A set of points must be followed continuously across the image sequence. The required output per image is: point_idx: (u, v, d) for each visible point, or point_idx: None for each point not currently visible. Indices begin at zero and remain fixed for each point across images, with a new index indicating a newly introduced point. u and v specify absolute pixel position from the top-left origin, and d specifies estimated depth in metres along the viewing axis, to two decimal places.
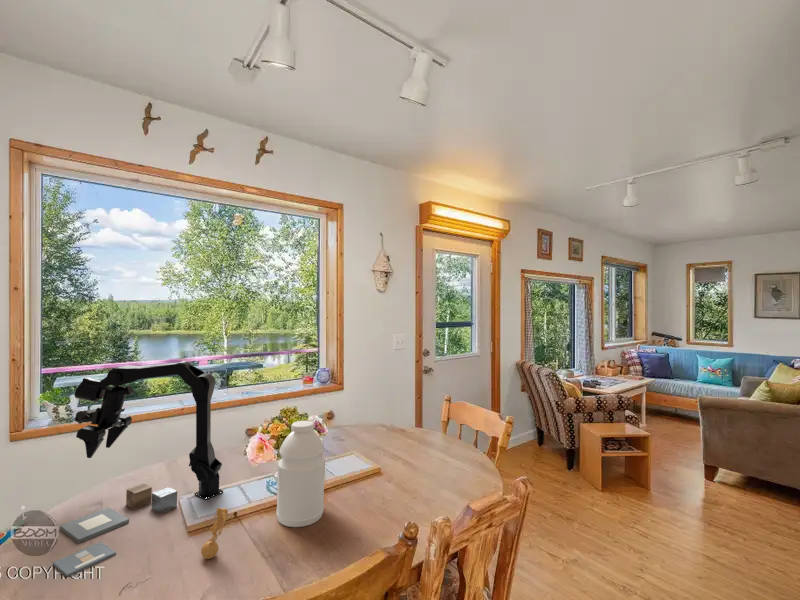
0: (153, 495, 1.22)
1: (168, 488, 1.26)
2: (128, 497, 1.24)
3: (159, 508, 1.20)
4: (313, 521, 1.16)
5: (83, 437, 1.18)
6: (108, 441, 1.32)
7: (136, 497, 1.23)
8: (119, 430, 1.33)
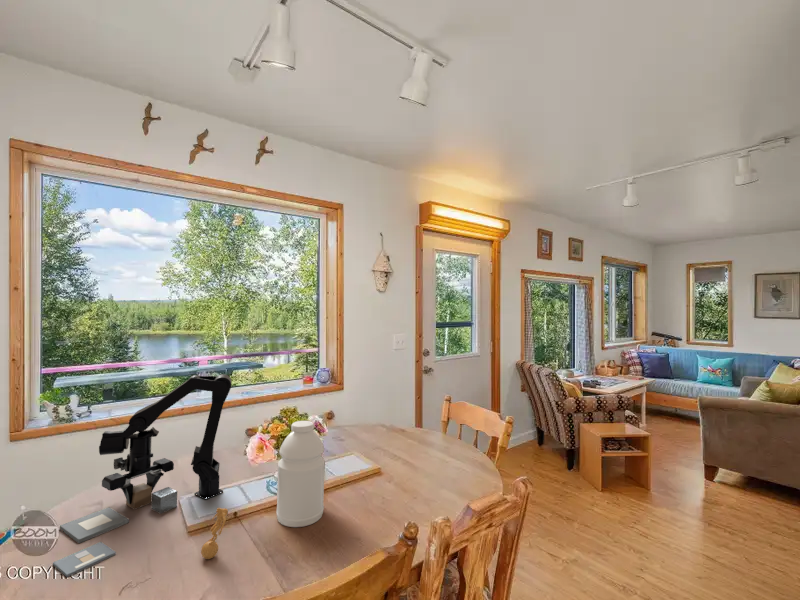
0: (153, 495, 1.22)
1: (168, 488, 1.26)
2: None
3: (159, 508, 1.20)
4: (313, 521, 1.16)
5: (104, 486, 1.18)
6: None
7: (136, 497, 1.23)
8: (153, 479, 1.27)
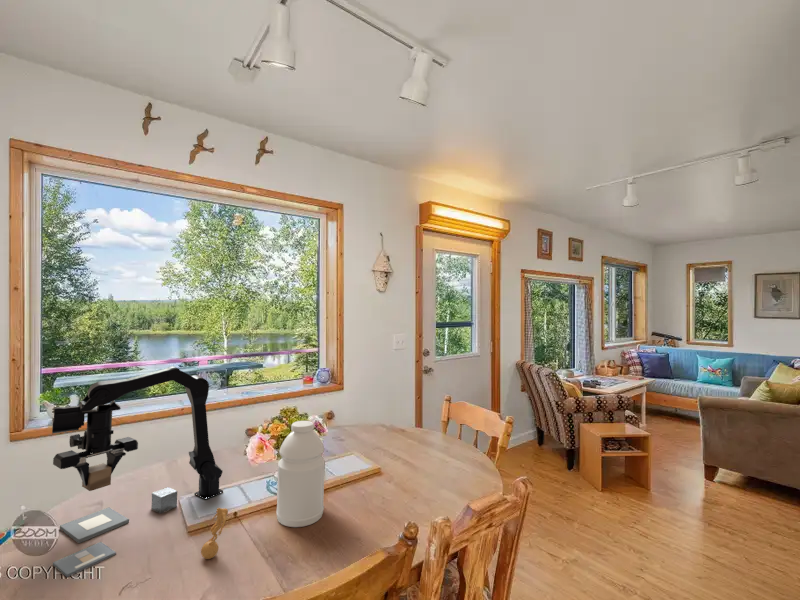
0: (153, 495, 1.22)
1: (168, 488, 1.26)
2: None
3: (159, 508, 1.20)
4: (313, 521, 1.16)
5: (55, 464, 1.06)
6: None
7: (93, 477, 1.10)
8: (113, 458, 1.15)
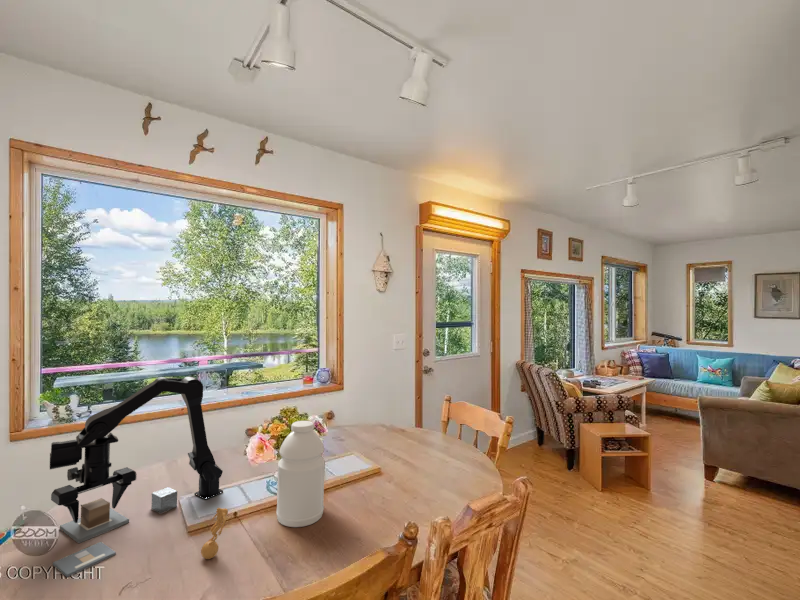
0: (153, 495, 1.22)
1: (168, 488, 1.26)
2: (83, 514, 1.11)
3: (159, 508, 1.20)
4: (313, 521, 1.16)
5: (54, 500, 1.05)
6: (113, 501, 1.17)
7: (91, 514, 1.10)
8: (119, 488, 1.16)
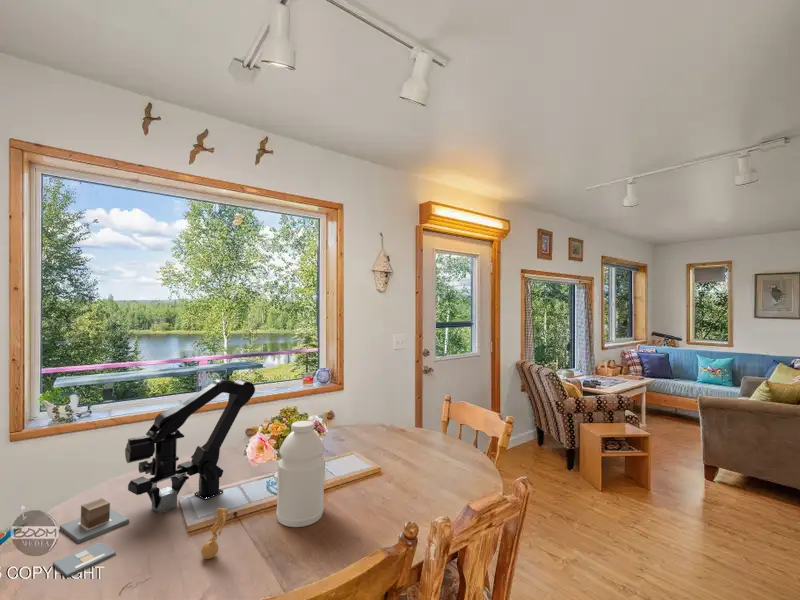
0: None
1: (168, 487, 1.26)
2: (83, 514, 1.11)
3: (159, 508, 1.20)
4: (313, 521, 1.16)
5: (131, 490, 1.16)
6: None
7: (91, 514, 1.10)
8: (178, 482, 1.25)
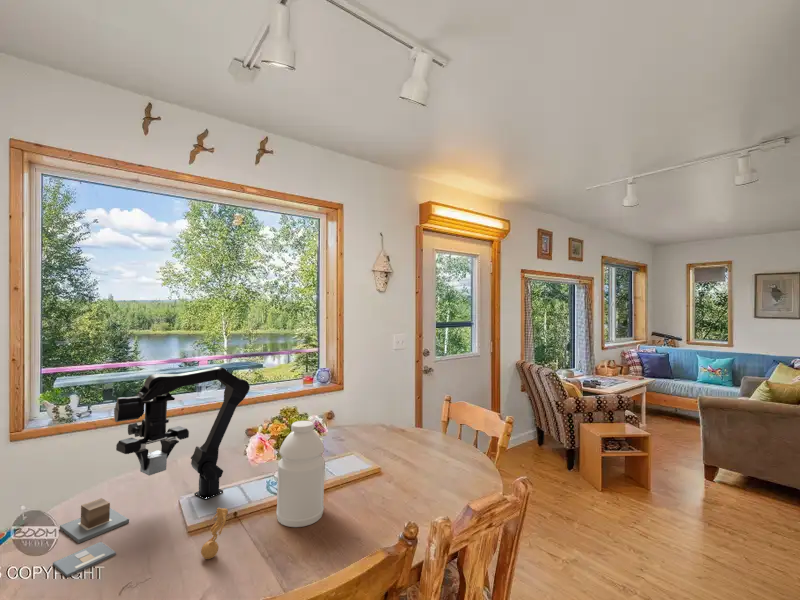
0: None
1: (158, 451, 1.24)
2: (83, 514, 1.11)
3: (148, 470, 1.18)
4: (313, 521, 1.16)
5: (119, 450, 1.14)
6: None
7: (91, 514, 1.10)
8: (168, 446, 1.23)
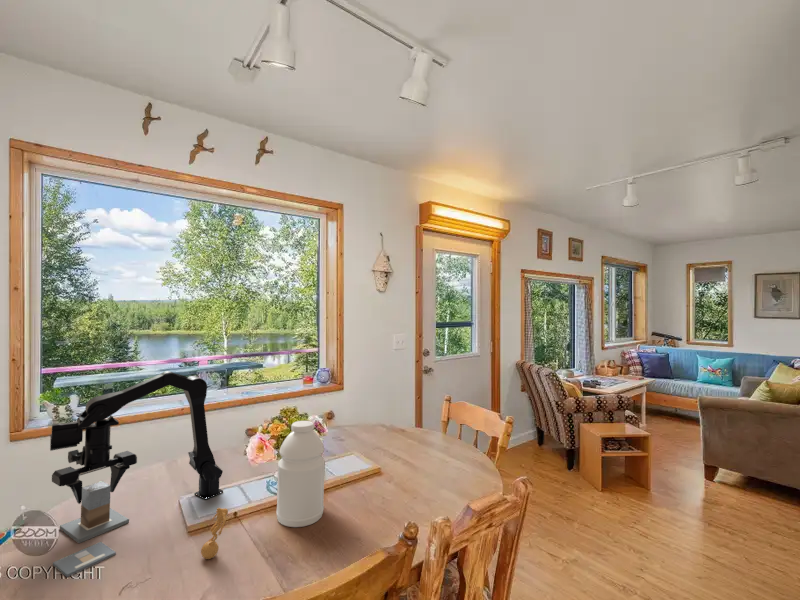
0: (83, 490, 1.12)
1: (102, 482, 1.15)
2: (83, 514, 1.11)
3: (88, 504, 1.10)
4: (313, 521, 1.16)
5: (54, 481, 1.05)
6: (111, 484, 1.16)
7: (91, 514, 1.10)
8: (117, 472, 1.16)
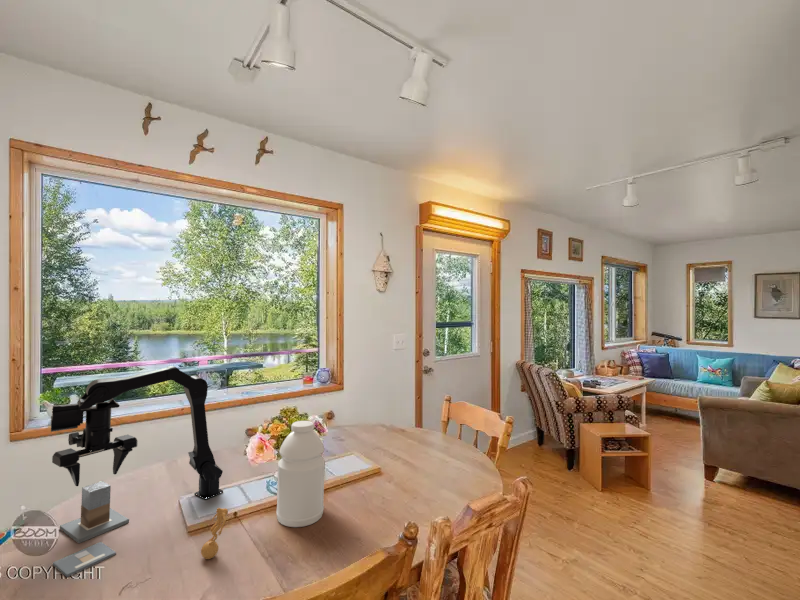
0: (83, 490, 1.12)
1: (102, 482, 1.15)
2: (83, 514, 1.11)
3: (88, 504, 1.10)
4: (313, 521, 1.16)
5: (55, 462, 1.05)
6: (114, 467, 1.17)
7: (91, 514, 1.10)
8: (120, 454, 1.16)
